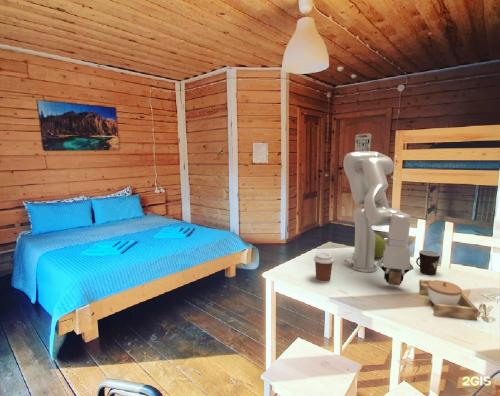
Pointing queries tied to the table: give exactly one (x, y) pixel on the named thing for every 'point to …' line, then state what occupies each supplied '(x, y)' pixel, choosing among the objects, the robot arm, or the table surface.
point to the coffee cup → (323, 267)
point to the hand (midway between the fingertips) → (393, 281)
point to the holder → (451, 306)
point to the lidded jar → (444, 292)
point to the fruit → (379, 246)
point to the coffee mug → (428, 261)
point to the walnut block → (394, 277)
